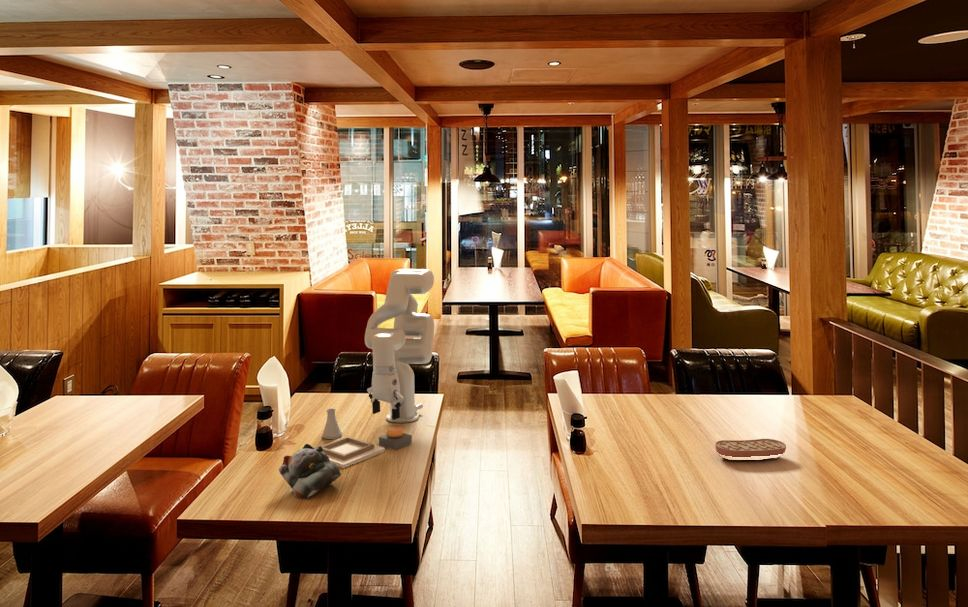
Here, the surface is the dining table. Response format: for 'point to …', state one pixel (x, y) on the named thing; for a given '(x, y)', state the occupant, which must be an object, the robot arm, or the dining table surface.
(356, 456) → the tray
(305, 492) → the lucky cat figurine
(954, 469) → the dining table surface
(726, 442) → the brown flat oval piece
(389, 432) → the button
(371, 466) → the dining table surface
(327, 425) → the flask
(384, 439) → the button base
